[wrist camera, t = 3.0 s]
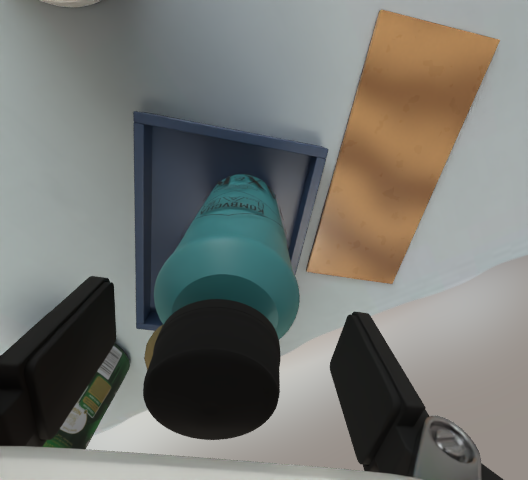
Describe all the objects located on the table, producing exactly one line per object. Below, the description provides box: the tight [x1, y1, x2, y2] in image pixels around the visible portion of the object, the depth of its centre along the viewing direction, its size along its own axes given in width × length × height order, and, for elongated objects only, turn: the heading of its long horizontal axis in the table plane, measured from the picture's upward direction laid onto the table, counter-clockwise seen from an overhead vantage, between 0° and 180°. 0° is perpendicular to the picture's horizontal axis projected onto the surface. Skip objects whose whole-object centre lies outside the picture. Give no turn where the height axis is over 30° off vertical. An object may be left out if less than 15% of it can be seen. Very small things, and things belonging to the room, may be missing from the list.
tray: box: [133, 111, 328, 331], centre depth 26 cm, size 22×16×2 cm
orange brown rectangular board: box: [306, 10, 500, 284], centre depth 25 cm, size 23×10×1 cm, turn 170°
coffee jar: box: [43, 344, 130, 449], centre depth 25 cm, size 10×8×19 cm
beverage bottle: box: [143, 173, 300, 440], centre depth 16 cm, size 6×7×20 cm
